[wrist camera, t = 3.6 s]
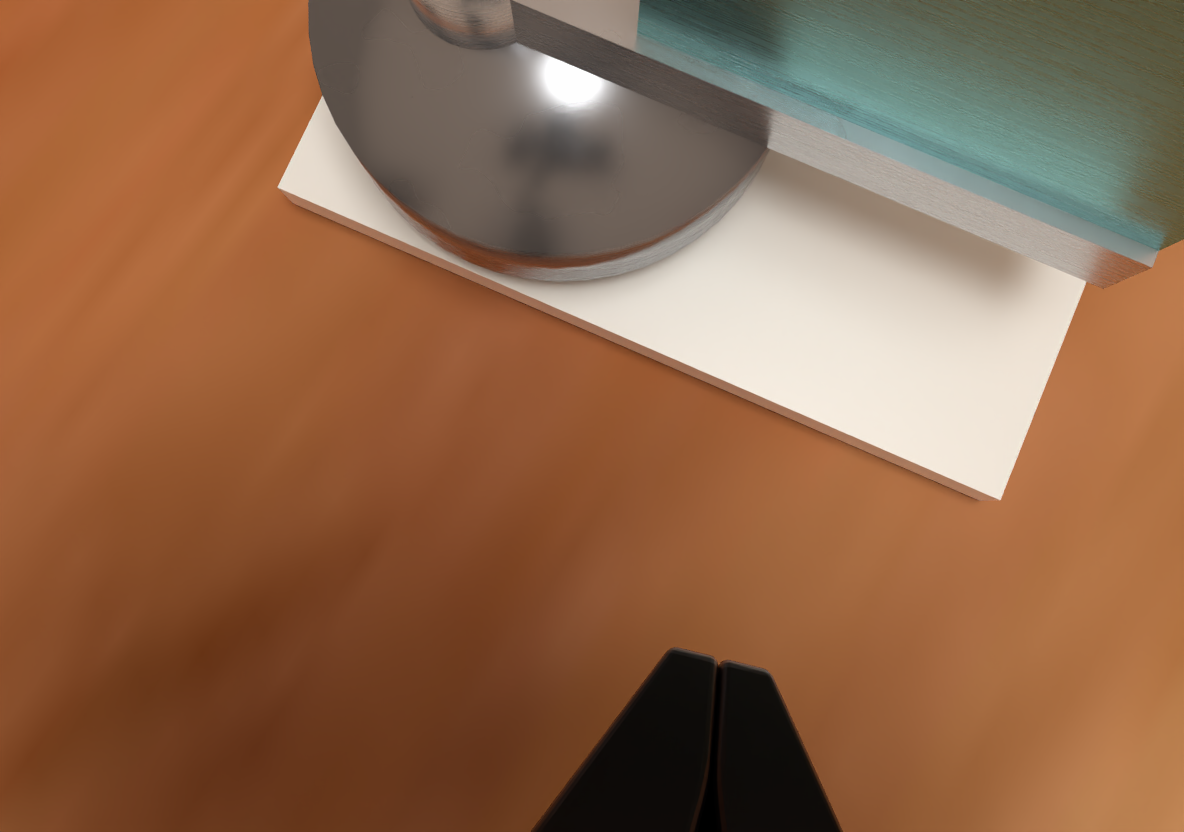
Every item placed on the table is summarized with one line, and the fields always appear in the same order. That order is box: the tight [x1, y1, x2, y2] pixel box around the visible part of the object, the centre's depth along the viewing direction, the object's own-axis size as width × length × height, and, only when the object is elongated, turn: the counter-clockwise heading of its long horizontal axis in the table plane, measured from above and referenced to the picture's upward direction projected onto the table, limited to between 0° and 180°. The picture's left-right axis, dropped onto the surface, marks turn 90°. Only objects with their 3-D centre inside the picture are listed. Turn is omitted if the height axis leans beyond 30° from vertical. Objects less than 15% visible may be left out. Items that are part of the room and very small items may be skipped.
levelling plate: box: [278, 95, 1086, 501], centre depth 19 cm, size 17×12×3 cm
